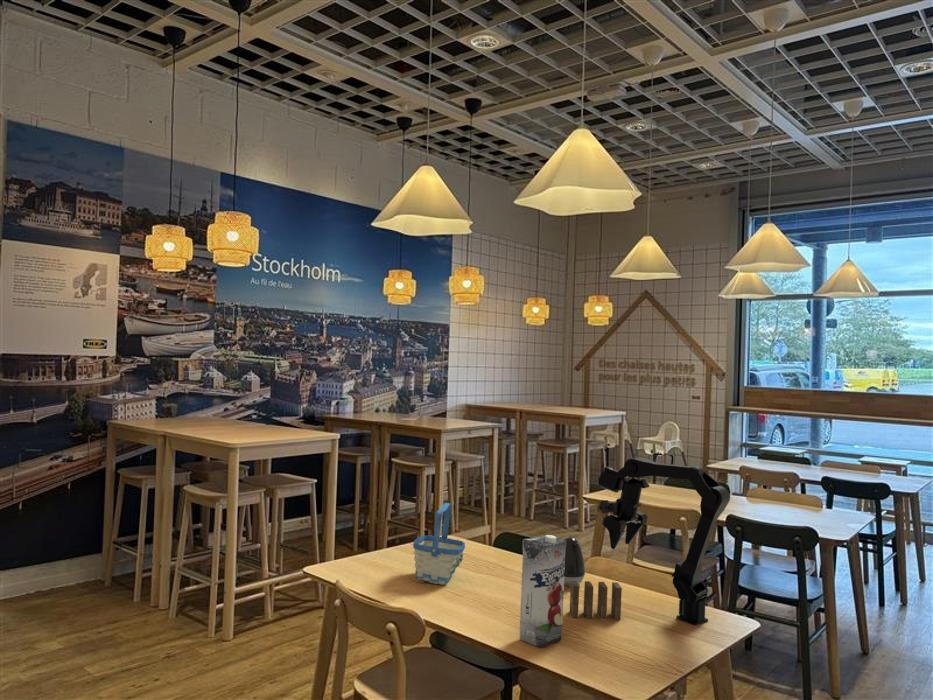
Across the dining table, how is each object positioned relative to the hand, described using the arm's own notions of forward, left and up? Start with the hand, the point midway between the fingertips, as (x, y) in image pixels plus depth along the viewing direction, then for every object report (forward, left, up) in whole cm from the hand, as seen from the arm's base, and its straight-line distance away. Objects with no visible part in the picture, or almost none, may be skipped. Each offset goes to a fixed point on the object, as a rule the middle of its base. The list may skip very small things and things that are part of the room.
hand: (619, 546), depth 215 cm
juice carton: (-13, +43, -17) cm, 48 cm away
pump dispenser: (+19, +2, -17) cm, 25 cm away
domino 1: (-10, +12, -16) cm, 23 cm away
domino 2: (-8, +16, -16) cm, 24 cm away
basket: (+44, +37, -17) cm, 60 cm away
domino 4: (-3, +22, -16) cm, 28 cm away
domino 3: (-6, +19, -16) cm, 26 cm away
